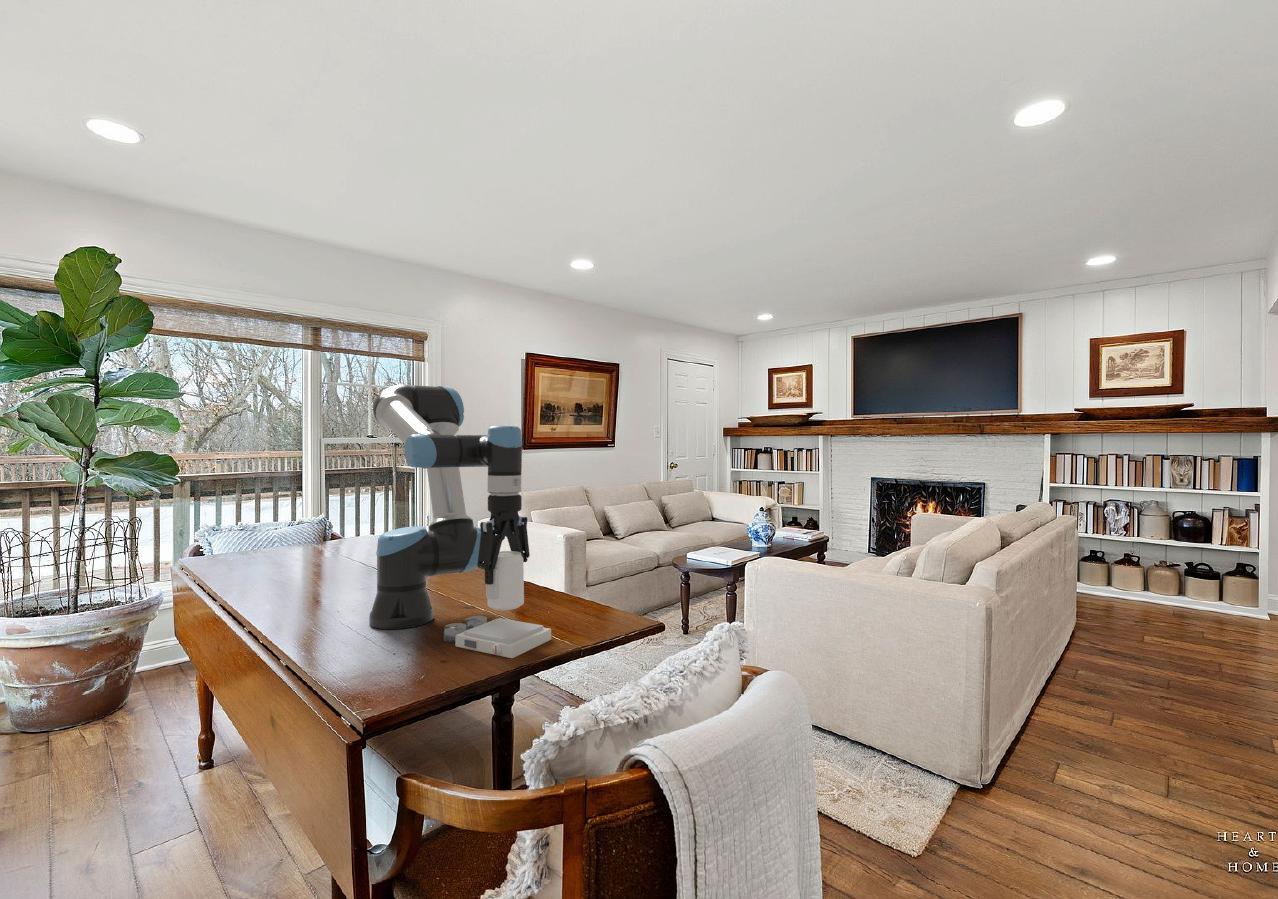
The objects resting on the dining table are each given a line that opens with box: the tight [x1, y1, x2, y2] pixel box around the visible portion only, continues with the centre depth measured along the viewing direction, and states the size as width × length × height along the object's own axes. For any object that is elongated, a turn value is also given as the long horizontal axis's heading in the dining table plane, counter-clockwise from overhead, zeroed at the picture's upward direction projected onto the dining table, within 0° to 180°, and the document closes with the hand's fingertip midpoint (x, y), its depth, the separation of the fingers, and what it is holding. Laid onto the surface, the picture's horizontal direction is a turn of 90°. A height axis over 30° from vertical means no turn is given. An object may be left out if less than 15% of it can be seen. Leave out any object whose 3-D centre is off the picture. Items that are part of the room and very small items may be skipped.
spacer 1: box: [443, 622, 466, 643], centre depth 141 cm, size 5×5×3 cm
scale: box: [454, 617, 552, 659], centre depth 138 cm, size 16×15×3 cm
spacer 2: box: [464, 615, 488, 630], centre depth 147 cm, size 5×5×3 cm
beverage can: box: [486, 550, 525, 611], centre depth 138 cm, size 8×8×12 cm
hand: (504, 594), depth 138 cm, fingers closed on beverage can, 8 cm apart
